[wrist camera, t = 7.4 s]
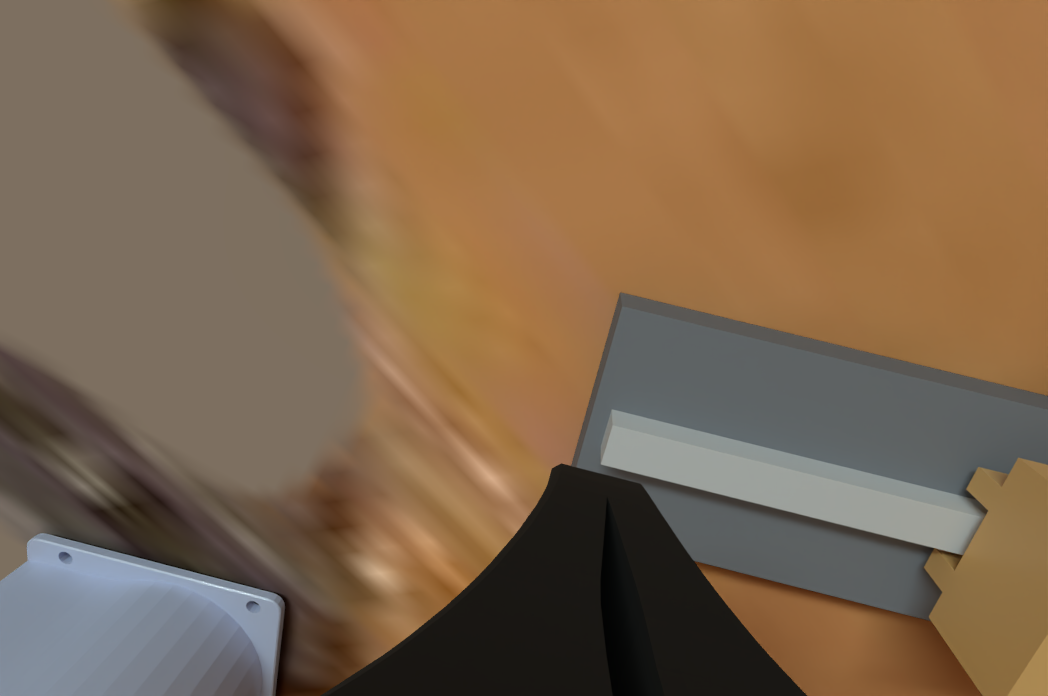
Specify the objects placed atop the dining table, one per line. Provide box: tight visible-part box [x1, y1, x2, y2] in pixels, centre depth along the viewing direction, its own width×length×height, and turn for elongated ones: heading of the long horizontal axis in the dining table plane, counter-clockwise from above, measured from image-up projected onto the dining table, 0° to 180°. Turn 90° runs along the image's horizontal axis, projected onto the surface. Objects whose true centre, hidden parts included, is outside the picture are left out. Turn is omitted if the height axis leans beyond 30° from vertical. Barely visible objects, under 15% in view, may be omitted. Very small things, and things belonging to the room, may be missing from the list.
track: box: [571, 292, 1048, 621], centre depth 16 cm, size 16×7×5 cm, turn 77°
